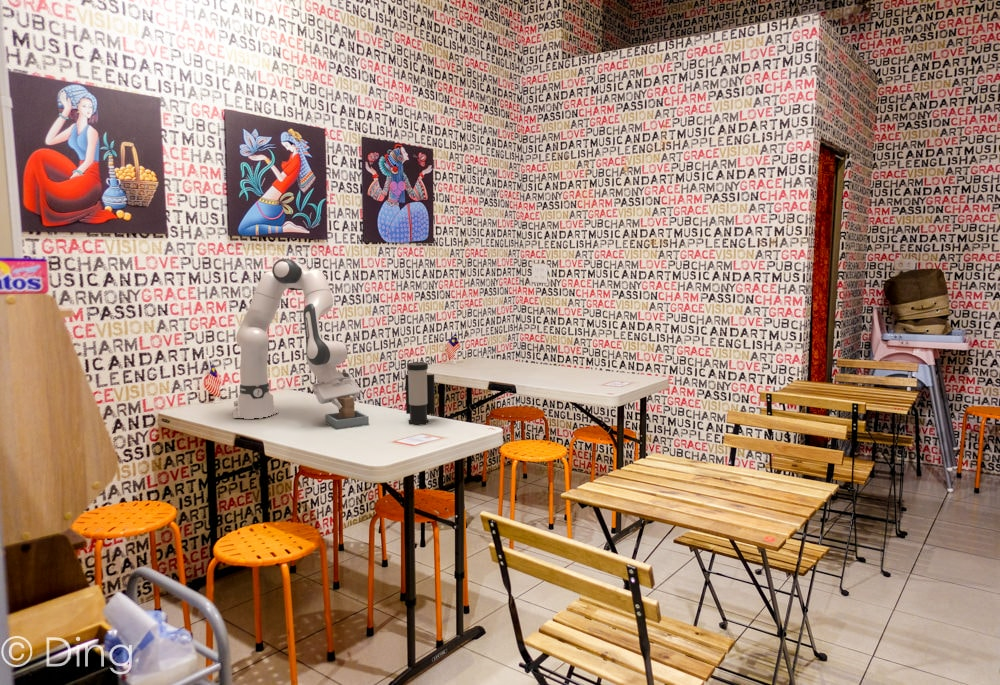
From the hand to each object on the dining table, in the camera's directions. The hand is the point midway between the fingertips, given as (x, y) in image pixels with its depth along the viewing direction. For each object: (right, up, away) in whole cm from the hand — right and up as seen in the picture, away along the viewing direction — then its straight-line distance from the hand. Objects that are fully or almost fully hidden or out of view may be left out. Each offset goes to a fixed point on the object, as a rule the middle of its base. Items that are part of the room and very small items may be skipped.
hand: (347, 406), depth 282 cm
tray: (0, -7, +1) cm, 7 cm away
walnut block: (0, -4, +1) cm, 4 cm away
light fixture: (+29, -7, +3) cm, 30 cm away
